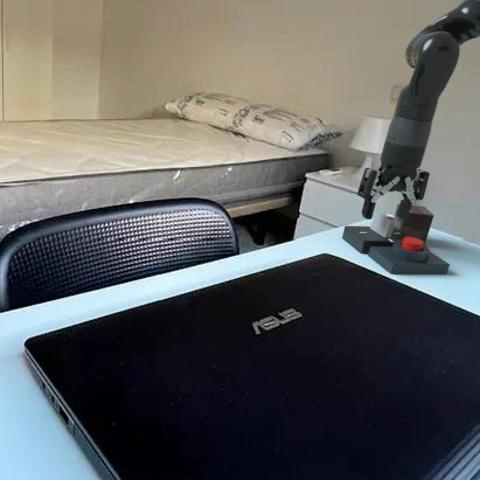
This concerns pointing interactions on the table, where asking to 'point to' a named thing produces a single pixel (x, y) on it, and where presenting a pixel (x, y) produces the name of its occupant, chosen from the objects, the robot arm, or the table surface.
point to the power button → (412, 244)
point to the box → (415, 222)
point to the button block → (407, 260)
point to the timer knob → (383, 224)
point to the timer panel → (369, 238)
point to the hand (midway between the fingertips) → (384, 218)
